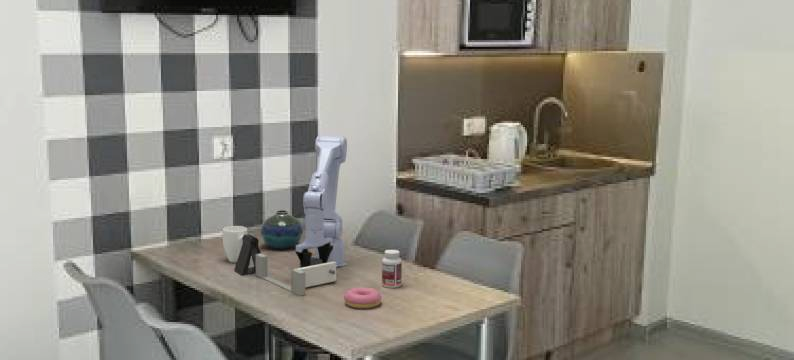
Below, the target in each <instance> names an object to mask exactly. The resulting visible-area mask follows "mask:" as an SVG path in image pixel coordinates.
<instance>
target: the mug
mask: <svg viewBox="0 0 794 360" xmlns="http://www.w3.org/2000/svg"><path fill="white" fill-rule="evenodd" d="M245 234H246V235H248V228H247V227H245V226H243V225H231V226H224V227H223V228H222V246H223V249H224V251H225V254H226V257H227V259H228V260H227V261H229V263H235V264H236V263H237V260H238V256H239V253H240V250H241V247H242V243H243V240H242V237H243V235H245Z"/></svg>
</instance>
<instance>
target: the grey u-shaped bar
mask: <svg viewBox="0 0 794 360" xmlns="http://www.w3.org/2000/svg"><path fill="white" fill-rule="evenodd" d="M290 269H291V272H290V274H291V276H290V279H291V286H289V285H287V284H285V283H283V282H281V281H279V280H278V279H277V280H276V279H274V278H272V277H269V276H268V255H266V254H263V253H260V254H256V273H255V276H257V277H259V278H260V279H262V280H264V281H267V282H269V283H271V284H274V285H275V286H278V287H280V288H282V289H284V290H286V291H288V292H290V293H293V294H295V295H297V296H299V297H301V296H305V295H306V287H305V272H304V271H301V270H299V269H297V268H293V267H292V268H290ZM294 269H295V270H294Z"/></svg>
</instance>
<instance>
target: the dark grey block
mask: <svg viewBox="0 0 794 360" xmlns="http://www.w3.org/2000/svg"><path fill="white" fill-rule="evenodd" d="M318 264H322V259H318V258H316V257H313V256H311V259H310V266H313V265H318ZM299 268H302V266H301V262H300V261H299Z"/></svg>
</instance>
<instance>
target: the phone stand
mask: <svg viewBox="0 0 794 360" xmlns="http://www.w3.org/2000/svg"><path fill="white" fill-rule="evenodd" d="M242 240H243V243H242V247H241V250H240V253H239V256H238V260H237V262H235V267H234V270H233V271H235V272H236V273H238V274H240V276H247V275H253V274H256V254H260V253H261V250H260V247H259V246H260V245H259V243H260V242H259V238H257V237H255V236H254V235H251V234H250V233H247V235H246V234H245V235H243V237H242ZM261 254H262V253H261ZM251 260H252V263H253V264H252V265H253V266H251V267H249V266H250V261H251Z"/></svg>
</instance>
